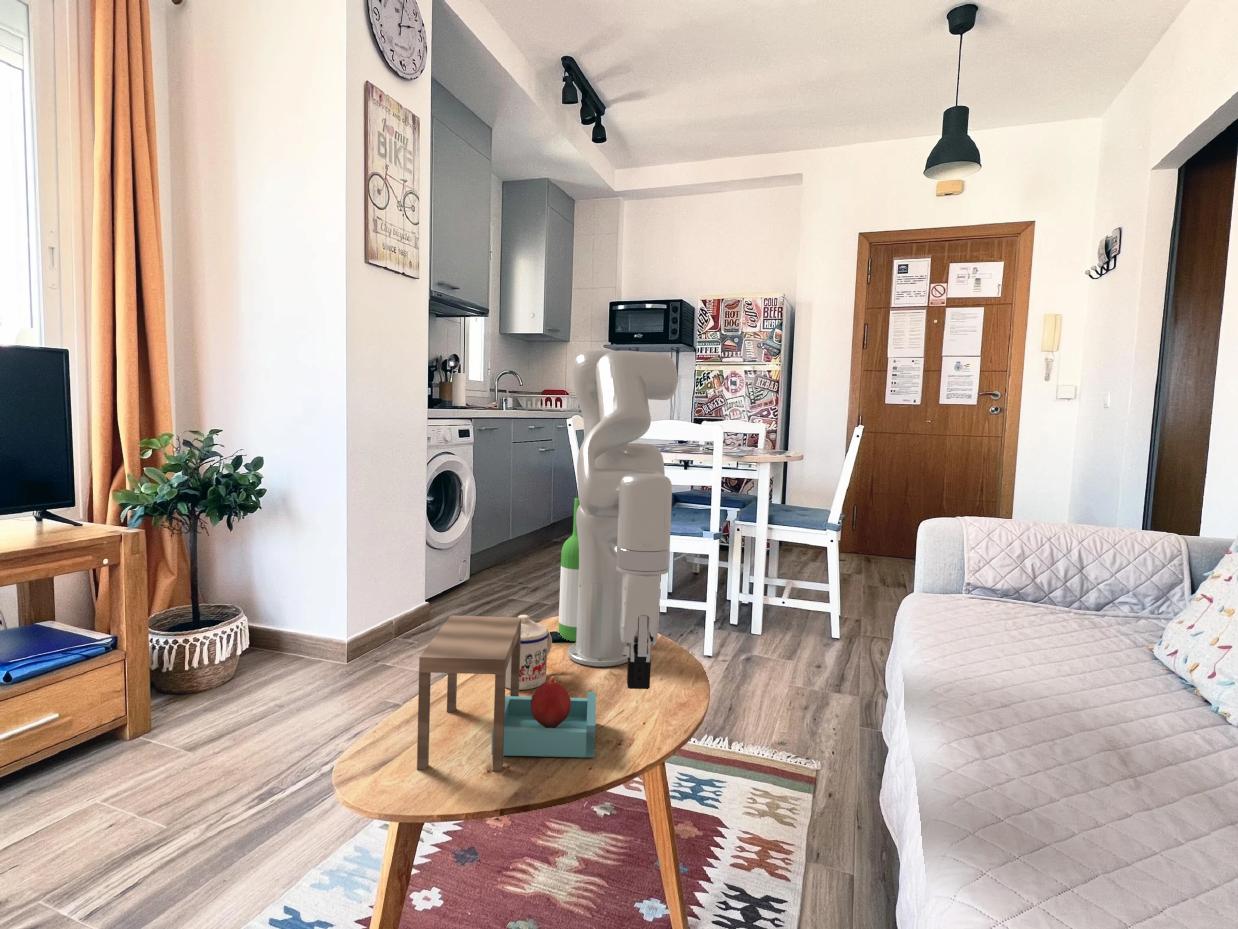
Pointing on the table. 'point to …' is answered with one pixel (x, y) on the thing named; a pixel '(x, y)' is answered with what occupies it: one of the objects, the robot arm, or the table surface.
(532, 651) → the teacup with lid
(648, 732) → the table surface
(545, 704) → the onion
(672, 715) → the table surface
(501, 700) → the wooden stool
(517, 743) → the shelf tray
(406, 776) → the table surface
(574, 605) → the wine bottle
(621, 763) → the table surface
